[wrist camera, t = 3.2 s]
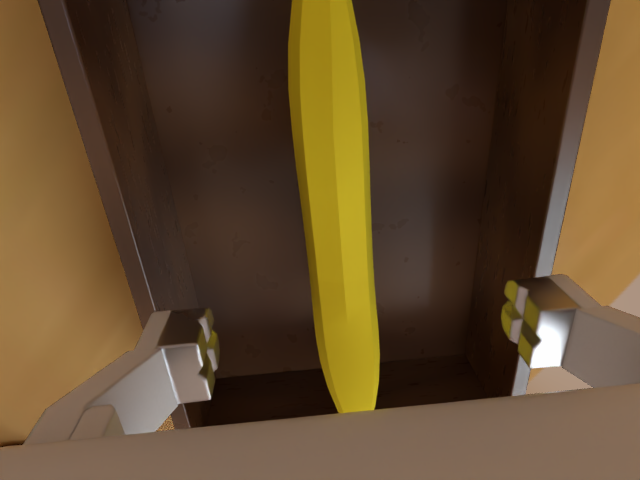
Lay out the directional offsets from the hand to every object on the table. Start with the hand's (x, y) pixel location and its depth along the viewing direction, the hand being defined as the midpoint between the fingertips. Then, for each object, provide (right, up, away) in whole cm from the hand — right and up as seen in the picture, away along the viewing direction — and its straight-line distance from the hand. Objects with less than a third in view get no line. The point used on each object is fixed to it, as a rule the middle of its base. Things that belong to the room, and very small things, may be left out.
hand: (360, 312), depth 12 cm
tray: (-1, +5, +8) cm, 9 cm away
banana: (-1, +4, +8) cm, 9 cm away
